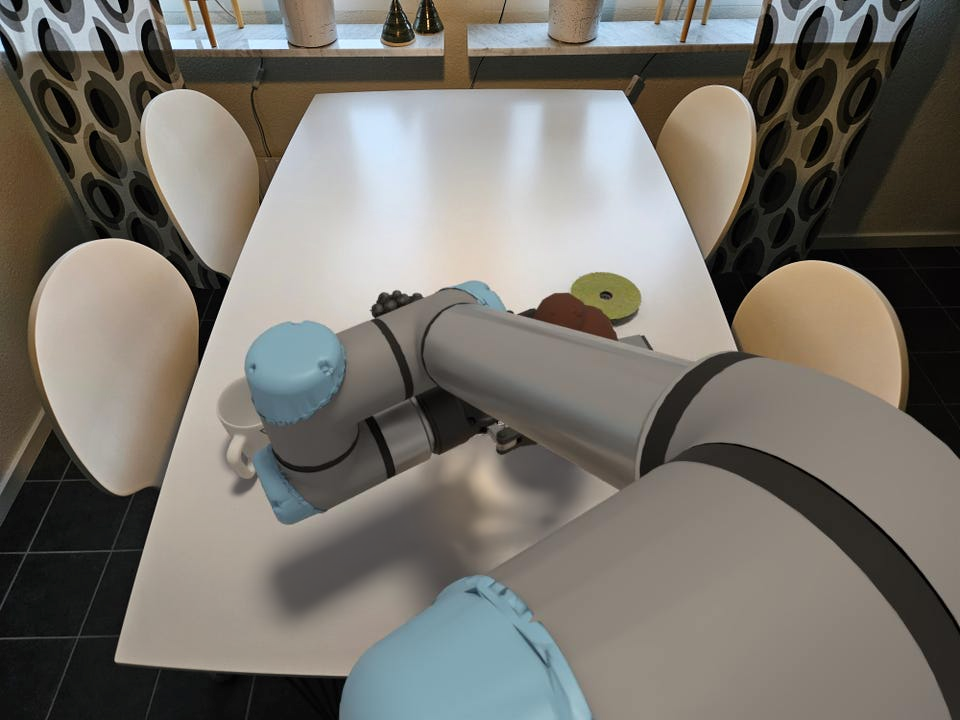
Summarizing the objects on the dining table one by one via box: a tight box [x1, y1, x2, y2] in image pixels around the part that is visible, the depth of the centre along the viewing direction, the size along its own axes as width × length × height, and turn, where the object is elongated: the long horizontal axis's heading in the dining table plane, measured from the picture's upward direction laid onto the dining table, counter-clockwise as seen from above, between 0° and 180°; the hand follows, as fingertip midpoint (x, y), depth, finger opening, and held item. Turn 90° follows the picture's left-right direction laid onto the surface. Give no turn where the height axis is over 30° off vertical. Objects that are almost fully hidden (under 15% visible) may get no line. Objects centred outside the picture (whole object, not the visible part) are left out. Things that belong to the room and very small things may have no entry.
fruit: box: [369, 289, 425, 319], centre depth 96 cm, size 9×8×15 cm
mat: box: [569, 271, 642, 320], centre depth 104 cm, size 11×11×2 cm
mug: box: [215, 375, 270, 480], centre depth 80 cm, size 11×8×10 cm
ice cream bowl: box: [532, 292, 619, 341], centre depth 70 cm, size 11×11×15 cm
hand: (597, 340), depth 71 cm, fingers closed on ice cream bowl, 11 cm apart
